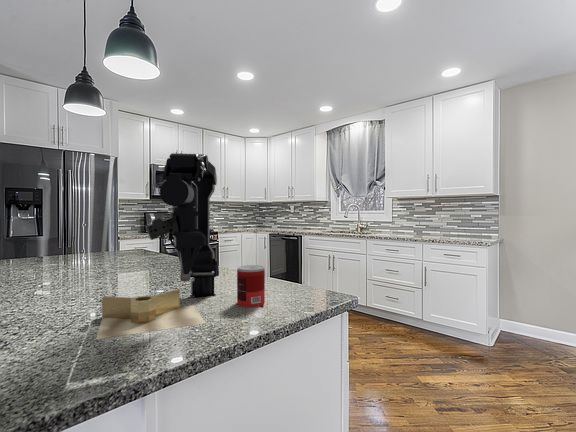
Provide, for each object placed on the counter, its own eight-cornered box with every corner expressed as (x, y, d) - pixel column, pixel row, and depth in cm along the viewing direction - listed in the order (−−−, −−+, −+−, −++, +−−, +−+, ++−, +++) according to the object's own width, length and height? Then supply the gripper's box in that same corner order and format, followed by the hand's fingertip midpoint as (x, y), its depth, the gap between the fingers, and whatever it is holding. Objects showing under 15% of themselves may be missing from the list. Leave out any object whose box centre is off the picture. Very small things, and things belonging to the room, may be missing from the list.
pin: (189, 278, 76) (189, 245, 76) (190, 280, 74) (190, 246, 74) (179, 279, 75) (179, 246, 75) (181, 281, 73) (181, 247, 73)
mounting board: (193, 307, 88) (193, 304, 88) (205, 326, 74) (205, 322, 74) (102, 319, 78) (102, 316, 78) (96, 343, 64) (95, 339, 64)
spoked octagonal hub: (179, 307, 86) (179, 288, 86) (184, 317, 78) (184, 297, 78) (102, 316, 78) (102, 296, 78) (99, 329, 70) (98, 306, 70)
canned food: (268, 303, 93) (268, 265, 93) (257, 311, 85) (257, 270, 85) (245, 300, 95) (245, 264, 95) (232, 308, 88) (232, 268, 88)
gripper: (146, 207, 79) (146, 269, 79) (149, 206, 62) (150, 284, 63) (191, 207, 84) (192, 266, 84) (206, 206, 67) (206, 279, 68)
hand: (185, 273), depth 75 cm, fingers closed on pin, 2 cm apart
